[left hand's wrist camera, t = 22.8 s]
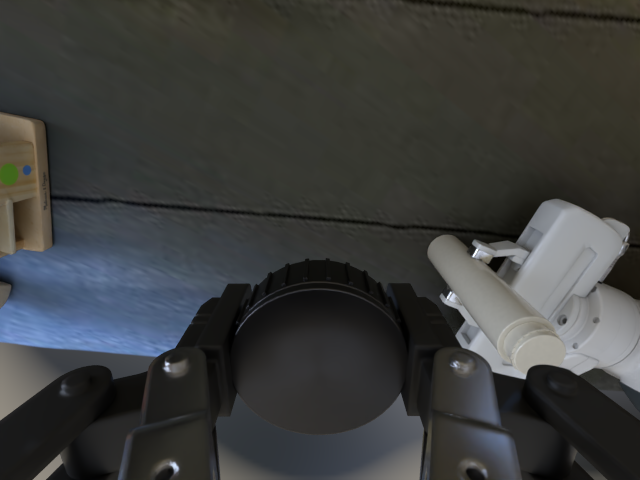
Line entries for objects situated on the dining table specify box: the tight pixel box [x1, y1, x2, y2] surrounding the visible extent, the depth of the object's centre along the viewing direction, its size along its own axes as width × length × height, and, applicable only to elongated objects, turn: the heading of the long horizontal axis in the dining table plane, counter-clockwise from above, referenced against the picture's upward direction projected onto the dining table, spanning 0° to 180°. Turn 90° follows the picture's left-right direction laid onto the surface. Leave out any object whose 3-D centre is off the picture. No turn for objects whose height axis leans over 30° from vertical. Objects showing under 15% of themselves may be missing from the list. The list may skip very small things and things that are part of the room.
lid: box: [230, 258, 408, 435], centre depth 10 cm, size 5×5×2 cm
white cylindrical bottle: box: [428, 235, 566, 375], centre depth 31 cm, size 4×4×19 cm
